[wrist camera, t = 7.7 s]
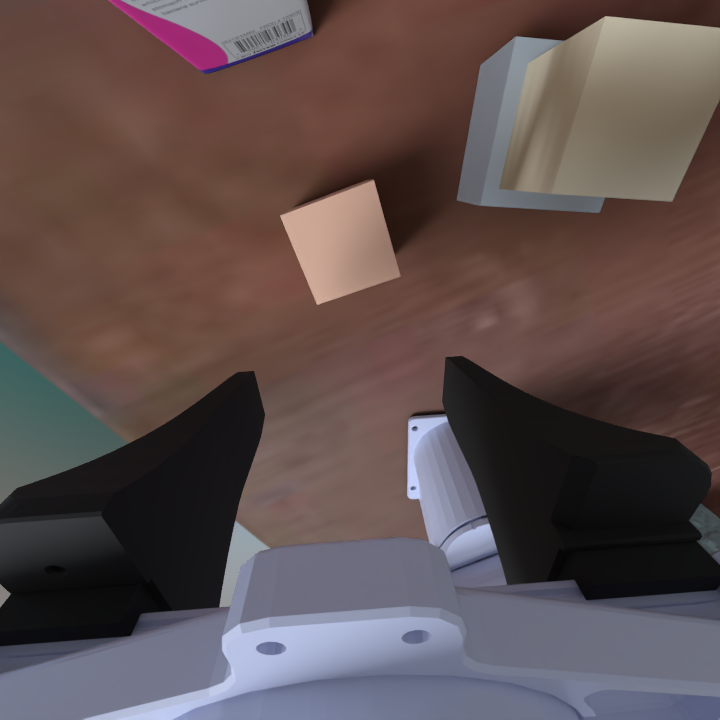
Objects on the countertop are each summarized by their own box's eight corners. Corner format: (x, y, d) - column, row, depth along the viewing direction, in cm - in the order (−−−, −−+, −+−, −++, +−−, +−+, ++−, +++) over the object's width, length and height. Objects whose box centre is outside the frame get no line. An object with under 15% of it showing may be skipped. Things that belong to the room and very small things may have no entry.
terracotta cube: (389, 257, 21) (400, 276, 17) (322, 280, 21) (317, 304, 17) (367, 179, 18) (373, 180, 14) (293, 207, 19) (279, 215, 15)
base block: (554, 206, 20) (599, 212, 16) (455, 200, 19) (480, 205, 16) (594, 76, 17) (660, 50, 13) (479, 66, 16) (516, 36, 13)
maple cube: (590, 194, 16) (672, 201, 12) (498, 188, 15) (551, 193, 12) (633, 72, 14) (751, 31, 10) (528, 63, 13) (605, 16, 9)
